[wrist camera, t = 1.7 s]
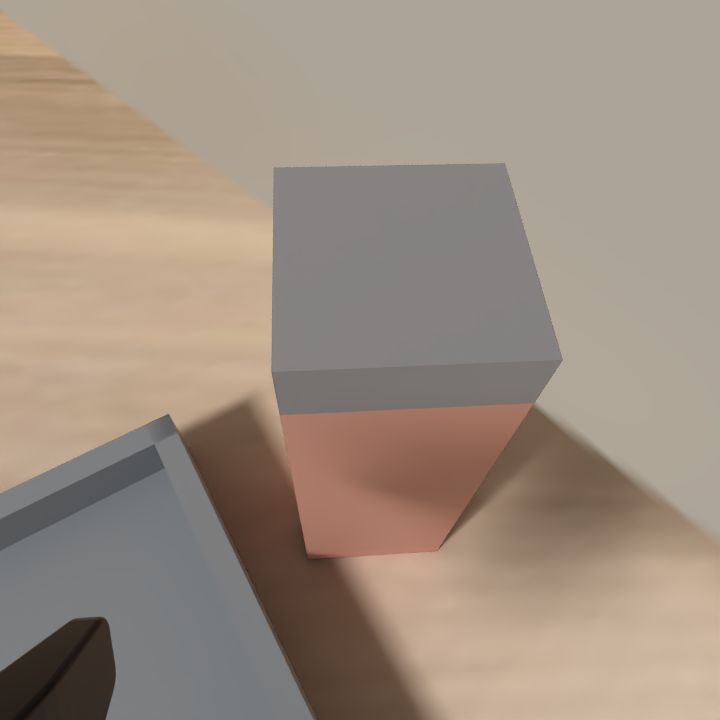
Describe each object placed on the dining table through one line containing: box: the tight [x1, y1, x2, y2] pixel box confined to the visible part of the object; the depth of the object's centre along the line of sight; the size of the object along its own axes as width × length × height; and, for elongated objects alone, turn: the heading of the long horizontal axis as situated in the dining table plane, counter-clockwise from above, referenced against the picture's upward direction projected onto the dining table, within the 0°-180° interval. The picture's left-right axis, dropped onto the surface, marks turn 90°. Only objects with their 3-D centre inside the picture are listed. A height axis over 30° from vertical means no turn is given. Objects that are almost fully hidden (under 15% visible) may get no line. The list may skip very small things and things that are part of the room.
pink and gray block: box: [271, 163, 562, 559], centre depth 15 cm, size 4×4×13 cm
